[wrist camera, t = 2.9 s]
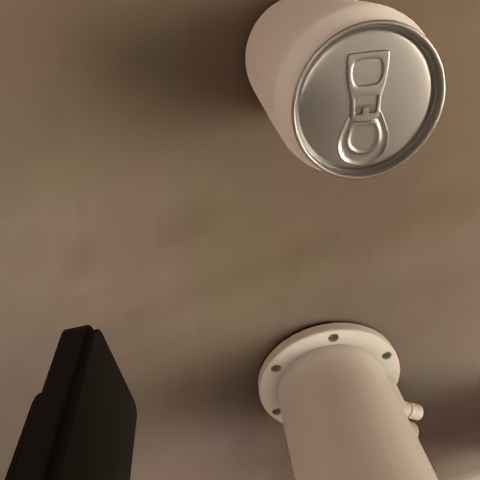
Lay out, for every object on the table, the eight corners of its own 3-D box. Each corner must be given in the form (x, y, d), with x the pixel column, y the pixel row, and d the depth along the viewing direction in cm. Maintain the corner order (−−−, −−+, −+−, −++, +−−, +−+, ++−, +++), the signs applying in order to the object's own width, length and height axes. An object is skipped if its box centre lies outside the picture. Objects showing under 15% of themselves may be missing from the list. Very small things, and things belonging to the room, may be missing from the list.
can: (248, 117, 28) (283, 199, 17) (239, -1, 24) (275, 15, 14) (350, 105, 28) (443, 179, 18) (354, -13, 25) (473, -6, 14)
